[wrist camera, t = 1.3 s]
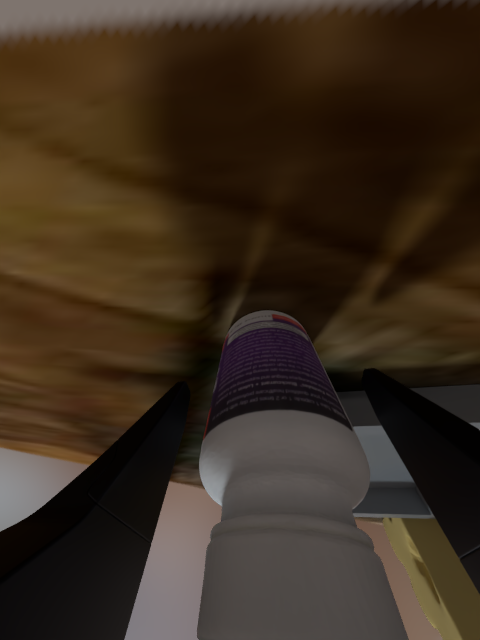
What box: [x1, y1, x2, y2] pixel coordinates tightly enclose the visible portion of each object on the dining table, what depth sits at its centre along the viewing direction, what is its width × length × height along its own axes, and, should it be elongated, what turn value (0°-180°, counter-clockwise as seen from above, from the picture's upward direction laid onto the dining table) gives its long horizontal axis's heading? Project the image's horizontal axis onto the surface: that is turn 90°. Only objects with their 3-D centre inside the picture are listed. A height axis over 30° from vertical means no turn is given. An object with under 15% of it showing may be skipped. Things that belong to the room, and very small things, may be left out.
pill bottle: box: [197, 310, 409, 640], centre depth 8 cm, size 5×5×10 cm
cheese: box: [383, 518, 480, 640], centre depth 18 cm, size 10×11×10 cm
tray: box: [336, 384, 480, 519], centre depth 16 cm, size 16×16×3 cm
